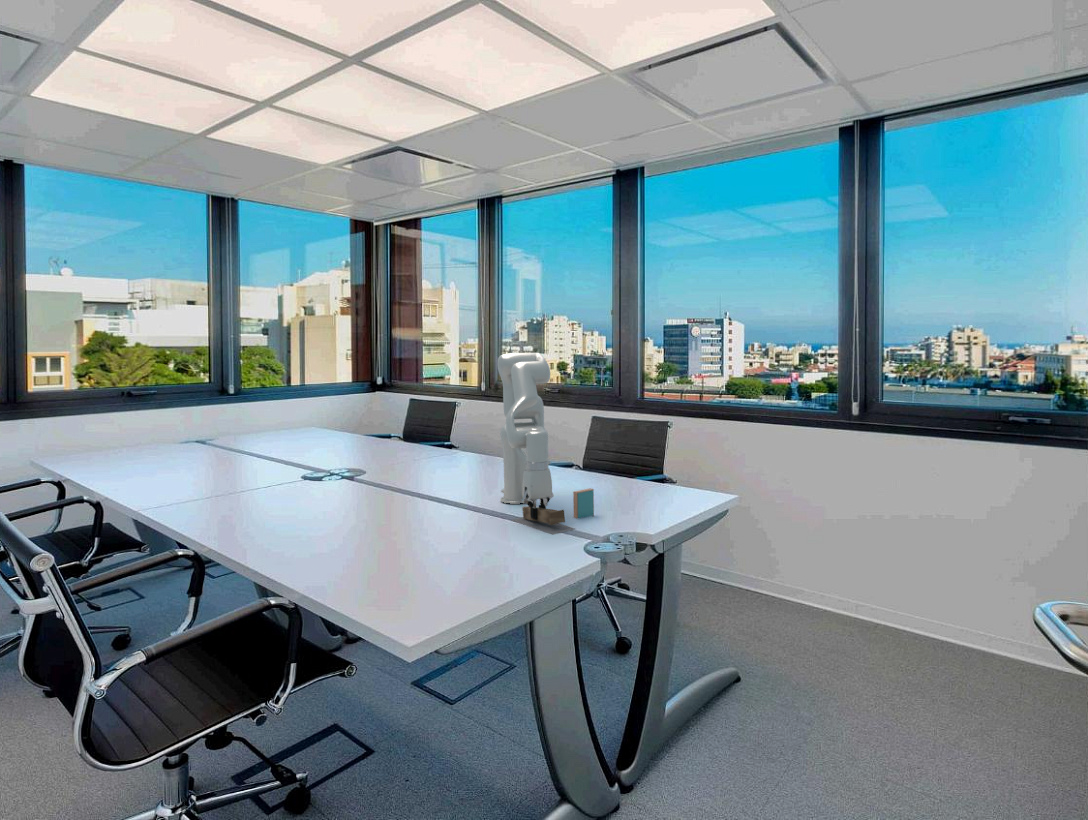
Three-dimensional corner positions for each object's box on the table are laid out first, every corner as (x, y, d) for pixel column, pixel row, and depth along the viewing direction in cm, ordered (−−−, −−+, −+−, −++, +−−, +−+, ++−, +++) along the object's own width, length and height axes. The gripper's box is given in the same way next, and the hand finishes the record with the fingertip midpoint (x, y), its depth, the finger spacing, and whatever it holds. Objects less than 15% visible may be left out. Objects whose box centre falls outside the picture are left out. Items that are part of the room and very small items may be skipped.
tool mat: (510, 521, 230) (510, 519, 230) (533, 516, 236) (533, 515, 236) (552, 536, 211) (552, 534, 211) (576, 530, 217) (576, 528, 217)
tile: (573, 519, 232) (573, 491, 231) (590, 515, 237) (590, 488, 236) (577, 520, 231) (577, 492, 230) (594, 516, 235) (594, 489, 234)
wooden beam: (519, 519, 230) (518, 508, 230) (533, 516, 233) (532, 505, 233) (551, 525, 215) (549, 513, 215) (565, 521, 219) (564, 509, 219)
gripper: (549, 461, 232) (550, 511, 234) (511, 467, 222) (512, 519, 224) (562, 464, 226) (563, 516, 228) (524, 470, 216) (525, 524, 218)
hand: (538, 517), depth 226 cm, fingers closed on wooden beam, 2 cm apart
